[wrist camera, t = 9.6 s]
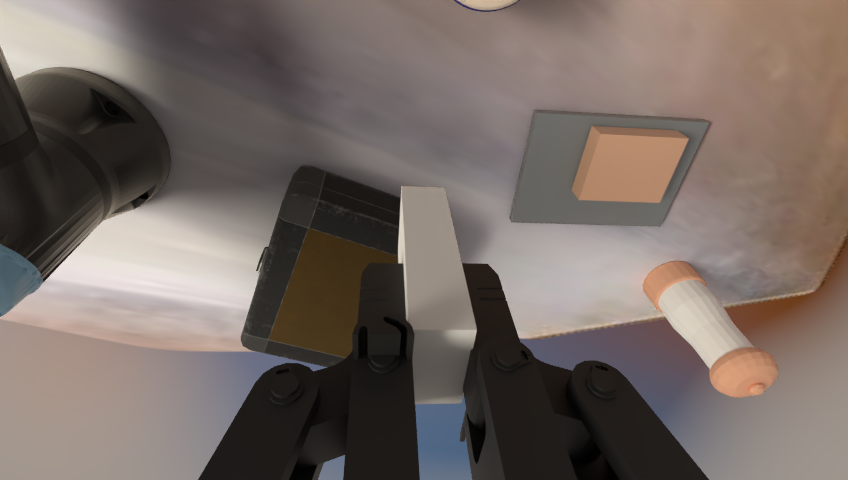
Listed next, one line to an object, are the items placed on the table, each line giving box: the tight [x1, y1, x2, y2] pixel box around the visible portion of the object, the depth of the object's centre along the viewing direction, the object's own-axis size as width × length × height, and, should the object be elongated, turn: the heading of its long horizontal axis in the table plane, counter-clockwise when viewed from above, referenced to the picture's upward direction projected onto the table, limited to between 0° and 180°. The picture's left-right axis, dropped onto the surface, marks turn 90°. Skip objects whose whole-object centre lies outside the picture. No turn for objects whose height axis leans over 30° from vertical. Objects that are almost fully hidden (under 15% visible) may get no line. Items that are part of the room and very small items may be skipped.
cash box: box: [241, 167, 401, 367], centre depth 54 cm, size 25×20×8 cm
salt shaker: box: [643, 261, 778, 398], centre depth 55 cm, size 7×7×19 cm
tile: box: [572, 126, 689, 203], centre depth 49 cm, size 3×8×10 cm
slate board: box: [510, 110, 709, 227], centre depth 51 cm, size 20×14×1 cm
